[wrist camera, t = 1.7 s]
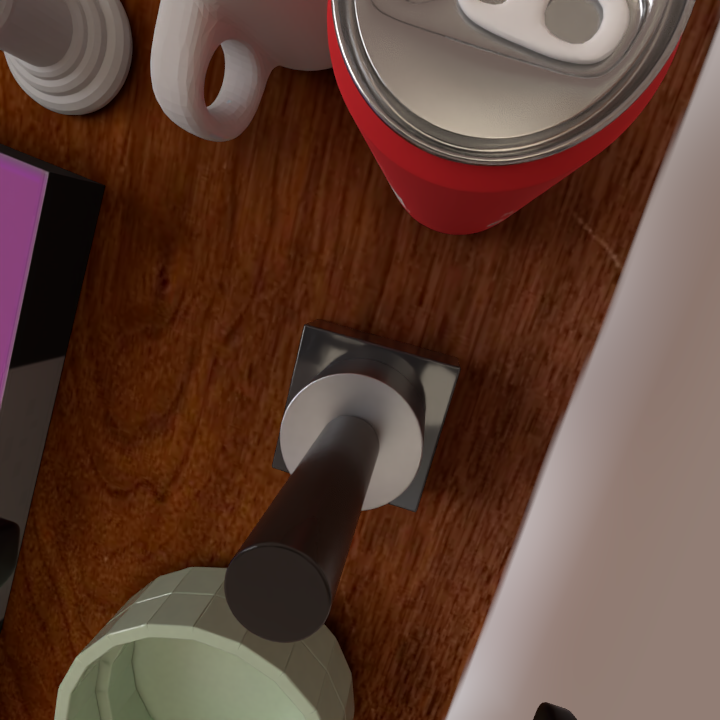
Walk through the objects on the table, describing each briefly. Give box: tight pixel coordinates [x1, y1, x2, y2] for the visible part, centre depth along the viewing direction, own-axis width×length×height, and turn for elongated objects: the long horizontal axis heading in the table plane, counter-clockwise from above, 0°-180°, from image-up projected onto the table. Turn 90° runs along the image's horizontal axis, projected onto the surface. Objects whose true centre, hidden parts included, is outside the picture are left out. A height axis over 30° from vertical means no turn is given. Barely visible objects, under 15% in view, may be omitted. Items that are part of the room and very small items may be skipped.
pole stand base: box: [272, 319, 461, 512], centre depth 19 cm, size 6×6×2 cm
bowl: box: [54, 567, 355, 720], centre depth 22 cm, size 12×12×4 cm
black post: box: [224, 359, 425, 643], centre depth 13 cm, size 5×5×10 cm
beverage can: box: [327, 0, 695, 235], centre depth 12 cm, size 5×5×12 cm
